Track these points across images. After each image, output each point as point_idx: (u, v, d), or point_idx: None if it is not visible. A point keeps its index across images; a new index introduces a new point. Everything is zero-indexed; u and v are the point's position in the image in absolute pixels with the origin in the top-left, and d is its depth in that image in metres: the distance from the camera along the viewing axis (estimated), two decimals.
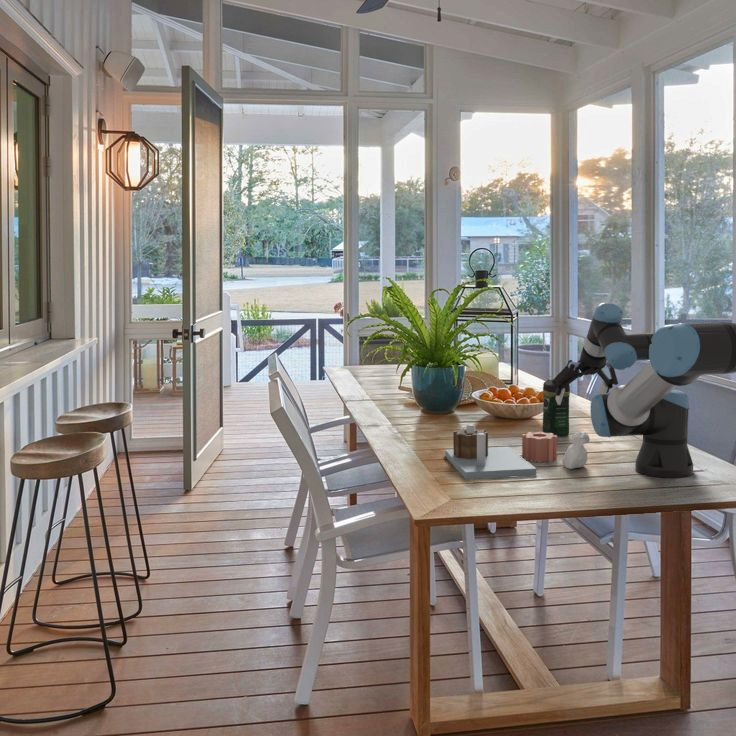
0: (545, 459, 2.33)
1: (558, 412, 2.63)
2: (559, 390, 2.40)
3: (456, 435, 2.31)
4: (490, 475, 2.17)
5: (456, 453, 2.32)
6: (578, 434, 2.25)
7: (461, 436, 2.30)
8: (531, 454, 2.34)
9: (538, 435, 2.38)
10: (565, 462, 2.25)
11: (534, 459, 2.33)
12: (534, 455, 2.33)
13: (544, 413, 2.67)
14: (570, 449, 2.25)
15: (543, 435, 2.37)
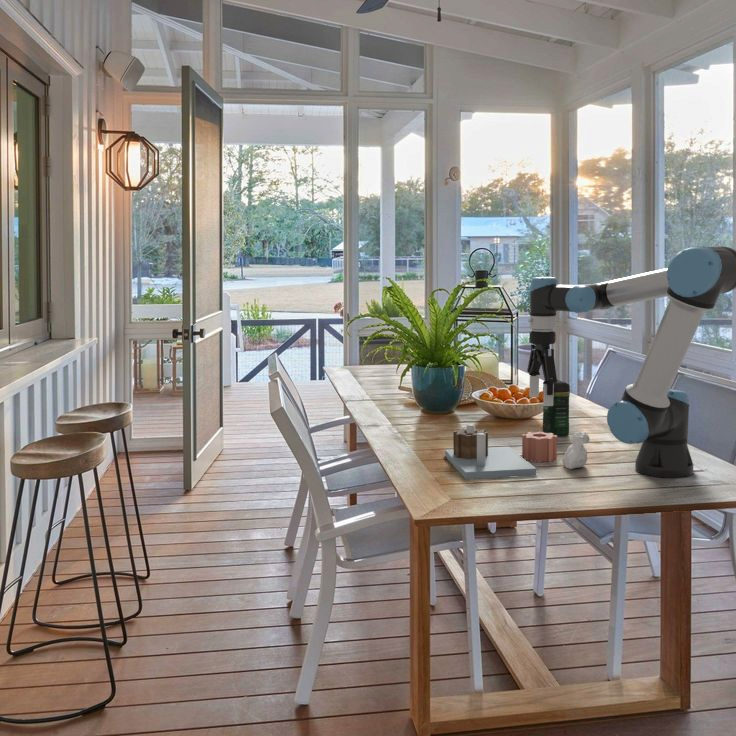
0: (545, 459, 2.33)
1: (558, 412, 2.63)
2: None
3: (456, 435, 2.31)
4: (490, 475, 2.17)
5: (456, 453, 2.32)
6: (578, 434, 2.25)
7: (461, 436, 2.30)
8: (531, 454, 2.34)
9: (538, 435, 2.38)
10: (565, 462, 2.25)
11: (534, 459, 2.33)
12: (534, 455, 2.33)
13: (544, 413, 2.67)
14: (570, 449, 2.25)
15: (543, 435, 2.37)
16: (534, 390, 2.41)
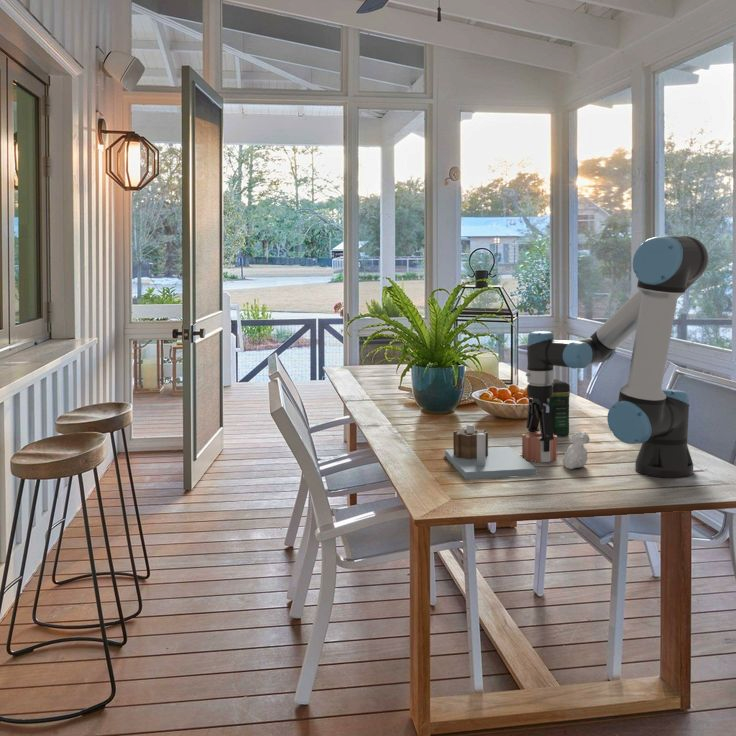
0: None
1: (558, 412, 2.63)
2: None
3: (456, 435, 2.31)
4: (490, 475, 2.17)
5: (456, 453, 2.32)
6: (578, 434, 2.25)
7: (461, 436, 2.30)
8: (531, 454, 2.34)
9: (538, 435, 2.38)
10: (565, 462, 2.25)
11: (534, 459, 2.33)
12: (534, 455, 2.33)
13: None
14: (570, 449, 2.25)
15: None
16: None
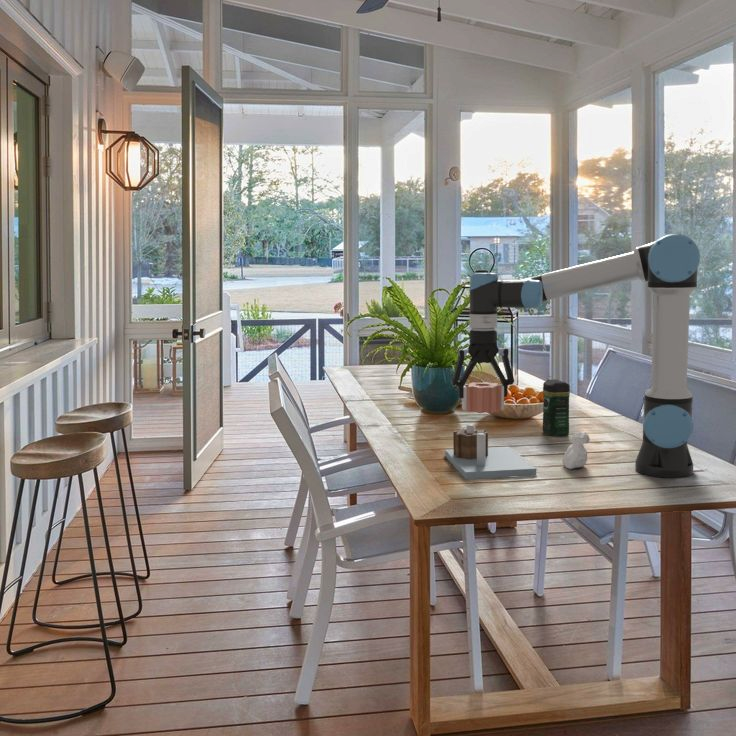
0: None
1: (558, 412, 2.63)
2: None
3: (456, 435, 2.31)
4: (490, 475, 2.17)
5: (456, 453, 2.32)
6: (578, 434, 2.25)
7: (461, 436, 2.30)
8: None
9: None
10: (565, 462, 2.25)
11: (496, 409, 2.19)
12: (496, 404, 2.18)
13: (544, 413, 2.67)
14: (570, 449, 2.25)
15: (477, 385, 2.21)
16: None
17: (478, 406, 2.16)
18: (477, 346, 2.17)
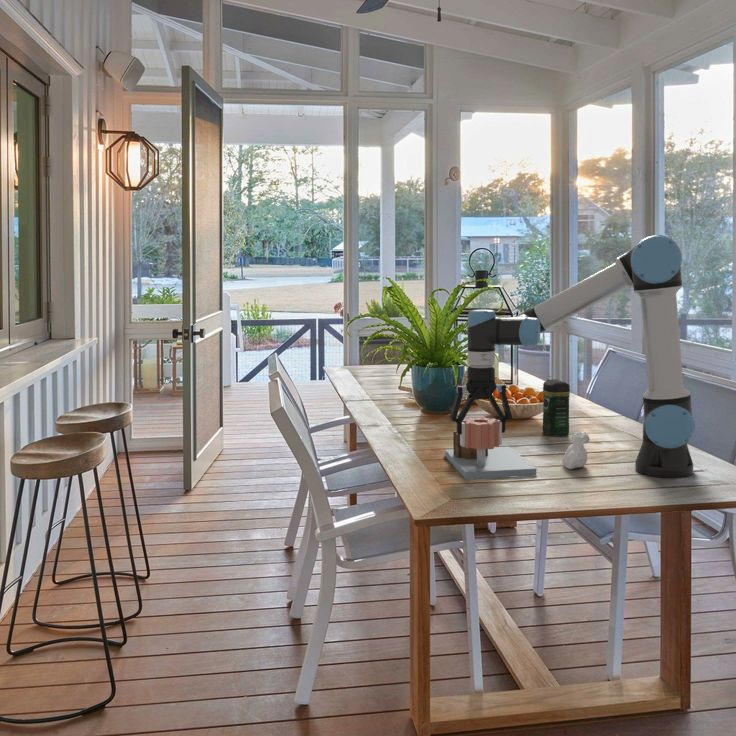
0: None
1: (558, 412, 2.63)
2: None
3: (456, 435, 2.31)
4: (490, 475, 2.17)
5: (456, 453, 2.32)
6: (578, 434, 2.25)
7: None
8: None
9: None
10: (565, 462, 2.25)
11: (494, 445, 2.19)
12: (494, 441, 2.19)
13: (544, 413, 2.67)
14: (570, 449, 2.25)
15: (475, 421, 2.22)
16: None
17: (476, 443, 2.17)
18: (475, 383, 2.18)
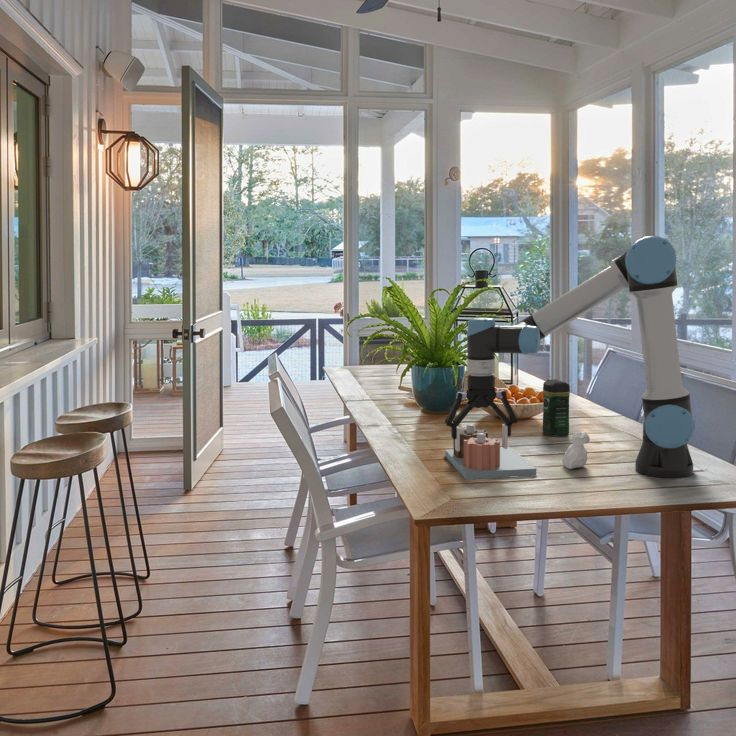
0: None
1: (558, 412, 2.63)
2: None
3: None
4: (490, 475, 2.17)
5: (456, 453, 2.32)
6: (578, 434, 2.25)
7: (461, 436, 2.30)
8: None
9: None
10: (565, 462, 2.25)
11: (495, 465, 2.20)
12: (495, 461, 2.20)
13: (544, 413, 2.67)
14: (570, 449, 2.25)
15: (476, 441, 2.23)
16: None
17: (477, 463, 2.17)
18: (476, 392, 2.18)
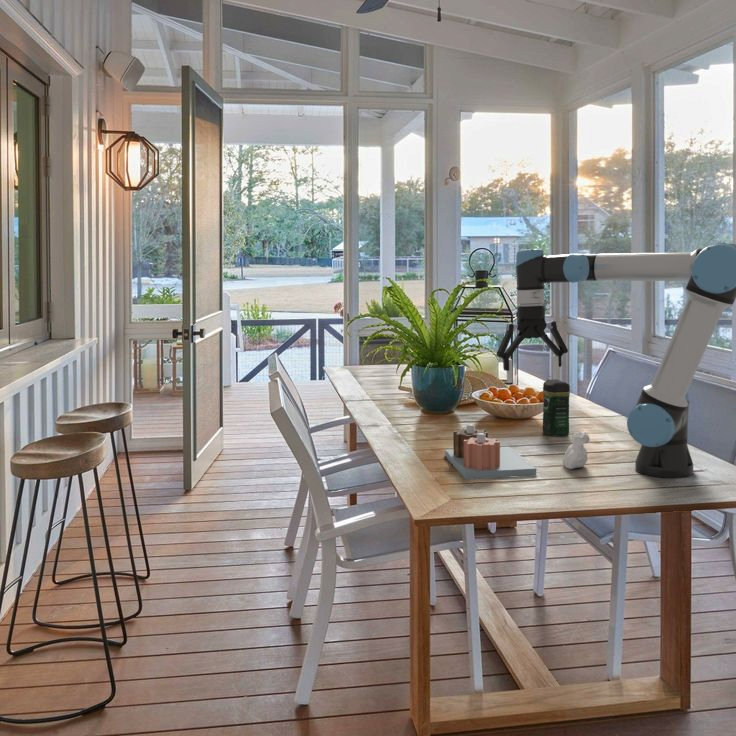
0: None
1: (558, 412, 2.63)
2: None
3: (456, 435, 2.31)
4: (490, 475, 2.17)
5: (456, 453, 2.32)
6: (578, 434, 2.25)
7: (461, 436, 2.30)
8: None
9: None
10: (565, 462, 2.25)
11: (495, 465, 2.20)
12: (495, 461, 2.20)
13: (544, 413, 2.67)
14: (570, 449, 2.25)
15: (476, 441, 2.23)
16: None
17: (477, 463, 2.17)
18: (527, 322, 2.20)
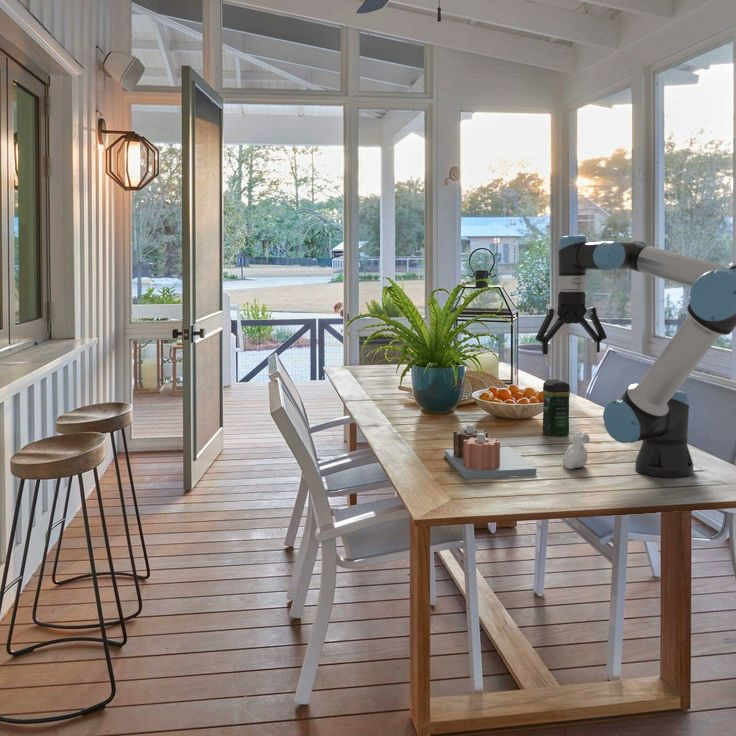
0: None
1: (558, 412, 2.63)
2: None
3: (456, 435, 2.31)
4: (490, 475, 2.17)
5: (456, 453, 2.32)
6: (578, 434, 2.25)
7: (461, 436, 2.30)
8: None
9: None
10: (565, 462, 2.25)
11: (495, 465, 2.20)
12: (495, 461, 2.20)
13: (544, 413, 2.67)
14: (570, 449, 2.25)
15: (476, 441, 2.23)
16: None
17: (477, 463, 2.17)
18: (567, 308, 2.24)
